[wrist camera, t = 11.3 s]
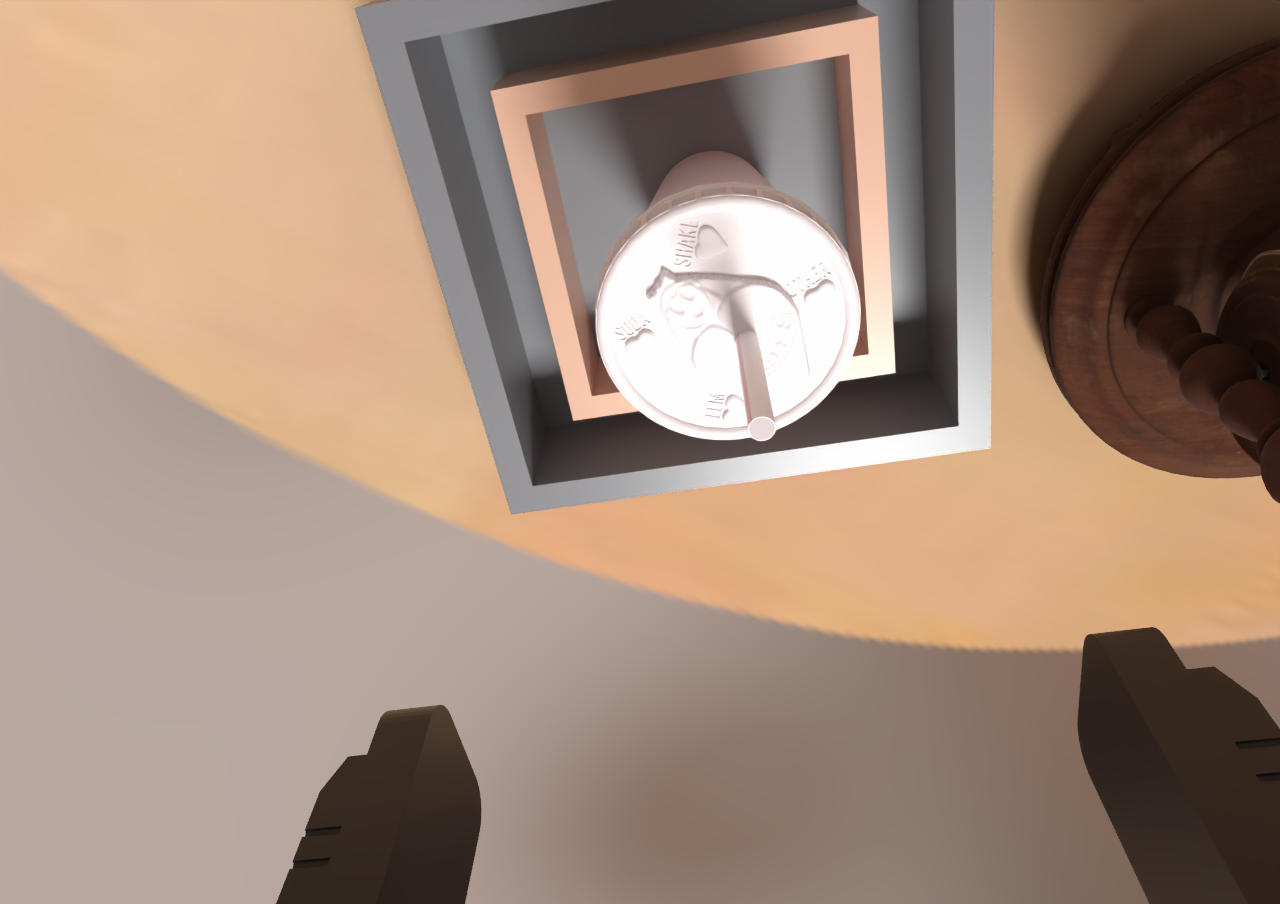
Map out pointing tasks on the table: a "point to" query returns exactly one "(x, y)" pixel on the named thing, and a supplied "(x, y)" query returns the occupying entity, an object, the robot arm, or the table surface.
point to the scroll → (1179, 280)
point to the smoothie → (726, 304)
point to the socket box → (630, 177)
